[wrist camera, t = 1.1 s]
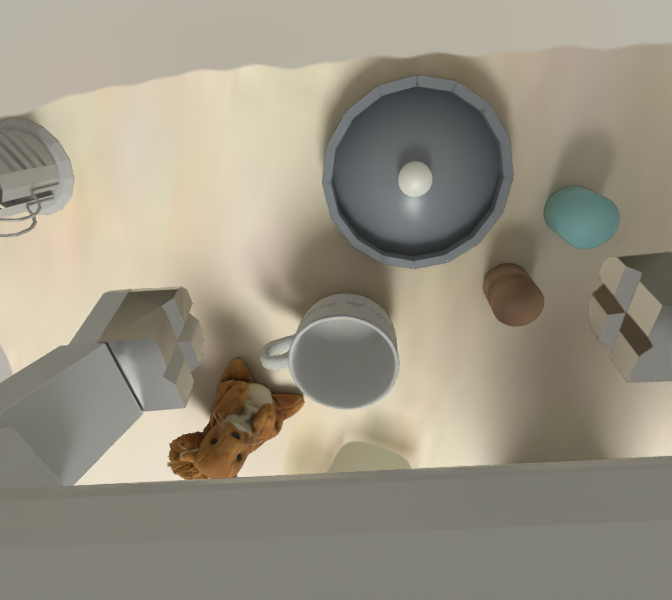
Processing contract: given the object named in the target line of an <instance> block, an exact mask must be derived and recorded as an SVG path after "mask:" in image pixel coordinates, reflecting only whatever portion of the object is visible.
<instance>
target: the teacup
mask: <svg viewBox="0 0 672 600" xmlns="http://www.w3.org/2000/svg"><path fill="white" fill-rule="evenodd" d="M288 349H289V351H288V352H286V353H284V354H282V355H278V356H273V355H275V354H277V353H279V352H282V351H285V350H288ZM260 361H261V363H262V365H263V366H264V367H265V368H267V369H270V370H280V369H284V368H287V367H289V370H290V373H291V376H292V378H293V380H294V382H295V383H296V385H297V387H298V388H299V389H300V390H301V391H302V392H303V393H304V394H305V395H306V396H307V397H309V398H310V399H312V400H313V401H315V402H317V403H319V404H321V405H324V406H327V407H331V408H334V409H341V410H353V409H359V408H363V407H367V406H369V405H372V404H374V403H376V402H378V401H379V400H381V399H382V398H383V397H384V396H386V395H387V394H388V393H389V391H390V390H391V389H392V387H393V386H394V384H395V381H396V379H397V376H398V372H399V355H398V351H397V339H396V334H395V329H394V326H393V323H392V321H391V319H390V318H389V316H388V314H387V313H386V312H385V311H384V310H383V309H382V308H381V307H380V306H379V305H378V304H377V303H375V302H374V301H372V300H370V299H368V298H366V297H363V296H360V295H356V294H348V293H342V294H335V295H331V296H328V297H325V298H323V299H321V300H320V301H318V302H317V303H315V304H314V305H313V306H312V307H311V308H310V309H309V310H308V311H307V312H306V314H305V315H304V317H303V319H302V320H301V322H300V325H299V327H298V329H297V332H296V334H294V335H291V336H287V337H284V338H280V339H277V340H274V341H272V342H269V343H268V344H266V345H265V346H263V347H262V349H261V351H260Z"/></svg>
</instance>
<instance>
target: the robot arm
mask: <svg viewBox="0 0 672 600" xmlns="http://www.w3.org/2000/svg"><path fill="white" fill-rule="evenodd" d="M598 276H599V278H600V280H601V281H602V283H603V285H602V286H601V287H599V288H598V289H597V290H596V291H595V292H594V293H593V294H592V296H591V299H590V303H589V306H588V315H589V323H590V326H591V329H592V331H593V333H594V334H595V336H596V338H597V339H598V340H599V341H601V342H602V343H604V344H606V345H608V346H610V347H611V348H612V349H611V353H610V356H609V357H610V358H611V360H612V361H613V363H614V364H615V366H616V367H617V369H618V370H619V371H620V373H621V374H622V376H623V377H624V379H625V380H626V382H627V383H628V382H658V381H672V251H668V252H663V253H652V254H640V255H628V256H616V257H608V258H607V259H606V260H605V261H604V263H603V264H602V266H601V269H600V272H599V274H598ZM192 304H193V303H192V301H191V298H190V296H189V293H188V291H187V290H186V289H185V288H183V287H166V288H146V289H134V290H132V289H127V290H114V291H108V292H106V293H104V294H103V295H102V297H101V298H100V300H99V301H98V302H97V304H96V305H95V307H94V308H93V310H92V311H91V313H90V314H89V316H88V317H87V319H86V320H85V322H84V323H83V325H82V326H81V327H80V329H79V330H78V332H77V333H76V335H75V336H74V338H73V339H72V341H71V342H70V344H69V345H66V346H59V347H58V348H56V349H54V350H53V351H51V352H50V353H48V354H46V355H45V356H43V357H41V358H40V359H38V360H37V361H35V362H33V363H32V364H30V365H29V366H27V367H25V368H24V369H22V370H20V371H19V372H17V373H16V374H14V375H12V376H11V377H9V378H8V379H6V380H4V381H3V382H1V383H0V600H672V456H658V457H638V458H618V459H598V460H578V461H558V462H538V463H518V464H498V465H478V466H458V467H438V468H418V469H401V470H400V469H398V470H379V471H358V472H338V473H318V474H298V475H277V476H257V477H237V478H217V479H197V480H177V481H157V482H138V483H118V484H98V485H78V486H73V485H74V484H75V483H76V482H77V481H78V480H79V479H80V478H81V477H82V476H83V475H84V474H85V473H86V472H87V471H88V470H89V469H90V468H91V467H92V466H93V465H94V464H95V463H96V462H97V461H98V459H99V458H100V457H101V456H102V455H103V454H104V453H105V452H106V451H107V450H108V449H109V448H110V447H111V446H112V445H113V444H114V443H115V442H116V441H117V440H118V439H119V438H120V437H121V436H122V435H123V434H124V433H125V432H126V431H127V430H128V429H129V428H130V427H131V426H132V425H133V424H134V423H135V421H136V420H137V419H138V418H139V417H140V416H141V415H142V414H143V413H142V412H144V411H156V410H167V409H179V408H186V405H187V402H188V399H189V396H190V393H191V390H192V387H193V384H194V380H193V377H192V375H191V372H192V371H193V370H194V369H196V368H197V367H198V366H199V365H200V362H201V359H202V355H203V342H204V340H203V334H202V329H201V326H200V323H199V320H197V319H196V318H195V317H193V316H192V315H191V314H189V312H190V309H191V306H192Z"/></svg>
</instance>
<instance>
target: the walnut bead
mask: <svg viewBox="0 0 672 600" xmlns="http://www.w3.org/2000/svg"><path fill="white" fill-rule="evenodd" d="M483 290H484V293H485V295H486V297H487V300H488V302H489V304H490V306H491V308H492V310H493V312H494V314H495V316H496V318H497V319H498V320H499V321H500V322H502V323H504V324H506V325H509V326H523V325H526V324H528V323H530V322H532V321H534V320H535V319H536V318H537V317H538V316H539V315H540V313H541V312H542V309H543V306H544V297H543V294H542V292H541V291H540V290H539V288H538V287H537V286H536V284H535V283H534V282H533V280H532V279H531V278H530V276H529V275H528V274H527V273H526V271H525V270H524V269H523V268H522V267H520V266H518V265H516V264H510V263H507V264H501V265H498V266H496V267H494V268H493V269H491V270H490V271H489V272H488V274H487V275H486V277H485V279H484V282H483Z"/></svg>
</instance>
